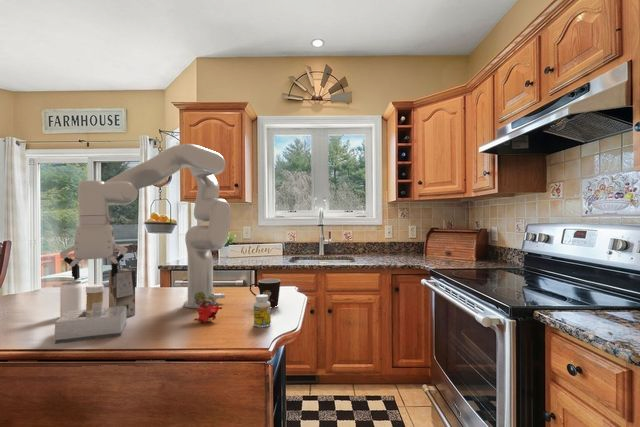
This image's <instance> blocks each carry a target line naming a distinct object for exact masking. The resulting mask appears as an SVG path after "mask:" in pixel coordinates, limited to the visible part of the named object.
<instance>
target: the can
mask: <svg viewBox="0 0 640 427" xmlns="http://www.w3.org/2000/svg"><path fill="white" fill-rule="evenodd" d="M59 290H60V293H59V296H60V297H59V298H60V300H59V301H60V304H59V305H60V306H59V310H60V311H59V313H60V314H59V315H60V317H61V316H63V315H64V314H65V313H66V312H67V311H74V310H84V286H83V284H82V281H79V280H74V281H65V282H62V283H61V286H60V289H59ZM60 317H59V318H60Z"/></svg>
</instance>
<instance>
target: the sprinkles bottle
mask: <svg viewBox="0 0 640 427" xmlns="http://www.w3.org/2000/svg"><path fill="white" fill-rule="evenodd" d="M104 287H105V286H104V284H102V283H100V284H99V283H97V284H90V285H87V286H86V287H85V294H86V304H85V309H86V317H90V316H100V315H103V308H104V291H105V290H104V289H105V288H104Z"/></svg>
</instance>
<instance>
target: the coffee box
mask: <svg viewBox="0 0 640 427" xmlns="http://www.w3.org/2000/svg"><path fill="white" fill-rule="evenodd" d="M119 306H126V318H128V317H133V316H135V315H136V270H134V269H130V268H127V267H126V268H118V273H117V274H116V276H115V277H112V269H108V307H119Z"/></svg>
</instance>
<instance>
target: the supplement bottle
mask: <svg viewBox="0 0 640 427" xmlns="http://www.w3.org/2000/svg"><path fill="white" fill-rule="evenodd" d="M267 300H268V295H265V294H261V295H260V294H256V296H255V302H254V304H253V325H254V327H255V326H257V327H256V328H263V327H262V326H267V325H269V326H271V324H270V323H271V321H272V320H271V308H270V302H269V301H267ZM267 327H268V326H267Z"/></svg>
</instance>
